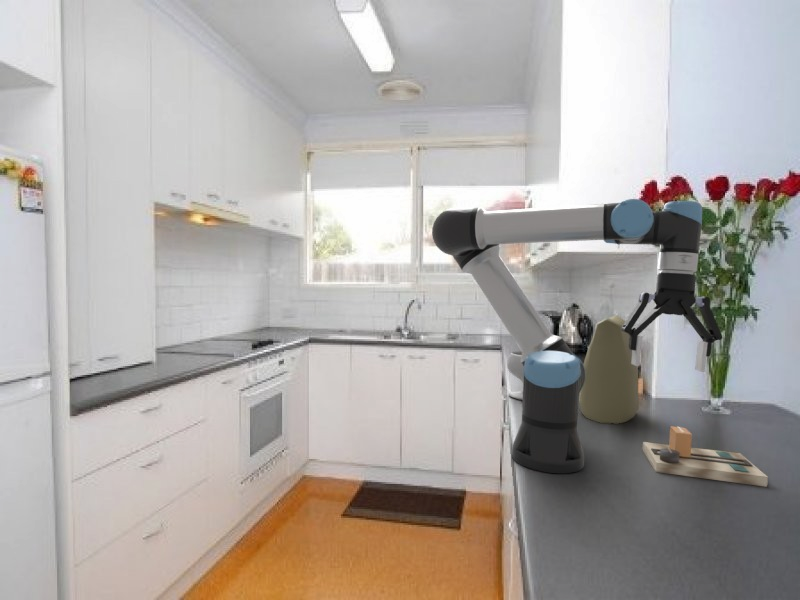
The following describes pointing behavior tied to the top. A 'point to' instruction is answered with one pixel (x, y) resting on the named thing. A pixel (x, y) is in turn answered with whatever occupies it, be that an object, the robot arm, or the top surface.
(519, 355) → the chalice
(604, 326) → the container
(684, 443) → the fader knob
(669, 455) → the console
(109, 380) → the top surface
